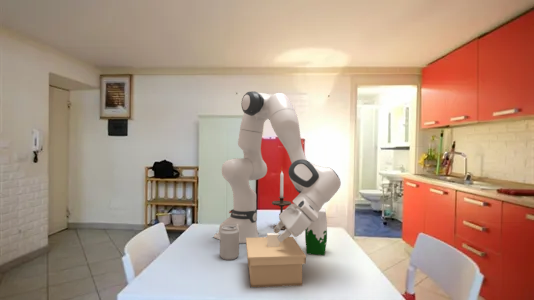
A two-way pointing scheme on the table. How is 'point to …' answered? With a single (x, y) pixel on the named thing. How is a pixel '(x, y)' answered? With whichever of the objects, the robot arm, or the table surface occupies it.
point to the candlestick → (281, 199)
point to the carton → (275, 275)
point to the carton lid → (273, 251)
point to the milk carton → (317, 235)
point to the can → (229, 242)
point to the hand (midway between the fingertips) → (276, 235)
